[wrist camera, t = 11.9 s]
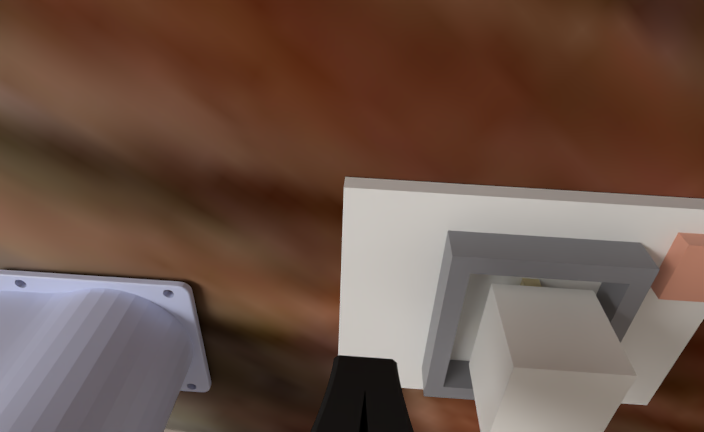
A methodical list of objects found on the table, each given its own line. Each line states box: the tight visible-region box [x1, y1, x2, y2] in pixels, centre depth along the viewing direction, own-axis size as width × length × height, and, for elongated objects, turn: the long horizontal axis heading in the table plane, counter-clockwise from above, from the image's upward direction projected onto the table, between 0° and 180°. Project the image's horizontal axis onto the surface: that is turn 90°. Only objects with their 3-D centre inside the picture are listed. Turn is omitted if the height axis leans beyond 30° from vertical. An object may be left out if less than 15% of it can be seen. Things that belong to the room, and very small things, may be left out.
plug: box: [469, 278, 637, 432], centre depth 19 cm, size 4×5×5 cm
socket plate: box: [338, 177, 704, 405], centre depth 21 cm, size 16×12×2 cm
